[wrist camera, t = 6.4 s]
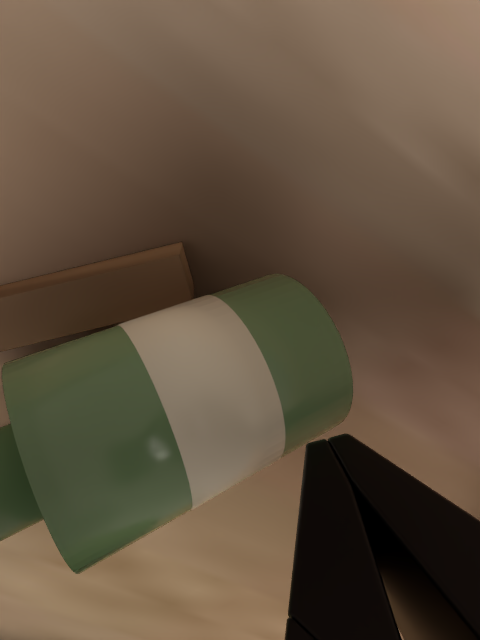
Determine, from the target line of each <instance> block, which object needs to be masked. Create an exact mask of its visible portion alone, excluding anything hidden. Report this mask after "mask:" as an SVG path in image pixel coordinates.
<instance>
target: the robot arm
mask: <svg viewBox="0 0 480 640" xmlns="http://www.w3.org/2000/svg"><path fill="white" fill-rule="evenodd" d="M288 616H289V618H288V619H287V624H286V633H285V640H402V639H401V636H400V633H399V630H400V632H401V634H402V636H403V638H404V640H480V521H479V520H478V519H476V518H475V517H473V516H472V515H470V514H469V513H467V512H466V511H464V510H463V509H461V508H459V507H458V506H456V505H455V504H453V503H452V502H450V501H449V500H447V499H446V498H444V497H443V496H441V495H440V494H438V493H437V492H435V491H434V490H432V489H431V488H429V487H428V486H426V485H425V484H423V483H422V482H420V481H419V480H417V479H416V478H414V477H413V476H411V475H410V474H408V473H407V472H405V471H404V470H402V469H401V468H399V467H398V466H396V465H395V464H393V463H392V462H390V461H389V460H387V459H386V458H384V457H383V456H381V455H380V454H378V453H377V452H375V451H374V450H372V449H371V448H369V447H368V446H366V445H365V444H363V443H362V442H360V441H359V440H357V439H356V438H354V437H353V436H351V435H349V434H342V435H338V436H334V437H331V438H329V439H328V441H327V440H325V439H323V440H319V441H315V442H311V443H308V444H307V445H306V451H305V460H304V469H303V479H302V488H301V497H300V506H299V516H298V525H297V534H296V544H295V553H294V562H293V571H292V581H291V590H290V599H289V609H288ZM397 626H398V627H397ZM398 628H399V630H398Z"/></svg>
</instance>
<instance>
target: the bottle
mask: <svg viewBox="0 0 480 640" xmlns="http://www.w3.org/2000/svg"><path fill="white" fill-rule="evenodd" d="M2 383H3V390H4V396H5V401H6V406H7V410H8V414H9V419H10V423H11V424H8V425H5V426H3V427H0V541H2V540H4V539H6V538H8V537H10V536H12V535H14V534H16V533H18V532H20V531H22V530H24V529H26V528H28V527H30V526H32V525H34V524H36V523H38V522H40V521H42V520H44V521H45V523H46V525H47V527H48V529H49V532H50V534H51V536H52V538H53V540H54V542H55V544H56V546H57V548H58V550H59V552H60V553H61V555H62V557H63V558H64V560H65V562H66V563H67V564H68V566H69V567H70V568H71V570H72V571H73V572H75V573H76V574H80V573H82V572H83V571H85V570H87V569H89V568H90V567H92V566H94V565H96V564H97V563H99V562H101V561H103V560H104V559H106V558H108V557H110V556H111V555H113V554H115V553H117V552H118V551H120V550H122V549H123V548H125V547H127V546H129V545H130V544H132V543H134V542H136V541H137V540H139V539H141V538H143V537H144V536H146V535H148V534H150V533H151V532H153V531H155V530H157V529H158V528H160V527H162V526H163V525H165V524H167V523H169V522H170V521H172V520H174V519H176V518H177V517H179V516H181V515H183V514H184V513H186V512H188V511H191V510H193V509H195V508H197V507H198V506H200V505H202V504H204V503H205V502H207V501H209V500H210V499H212V498H214V497H216V496H217V495H219V494H221V493H223V492H224V491H226V490H228V489H230V488H231V487H233V486H235V485H237V484H238V483H240V482H242V481H243V480H245V479H247V478H249V477H250V476H252V475H254V474H256V473H257V472H259V471H261V470H263V469H264V468H266V467H268V466H269V465H271V464H273V463H275V462H276V461H278V460H279V459H280V458H282V457H283V456H285V455H287V454H289V453H290V452H292V451H294V450H296V449H297V448H299V447H301V446H303V445H304V444H306V443H308V442H310V441H311V440H313V439H315V438H316V437H318V436H320V435H322V434H323V433H325V432H327V431H329V430H330V429H332V428H334V427H336V426H337V425H339V424H340V423H341V422H343V421H344V419H345V418H346V417H347V415H348V413H349V411H350V408H351V404H352V397H353V380H352V373H351V368H350V363H349V359H348V356H347V353H346V349H345V346H344V344H343V341H342V339H341V337H340V334H339V332H338V330H337V328H336V326H335V324H334V323H333V321H332V319H331V318H330V316H329V314H328V313H327V311H326V310H325V308H324V307H323V306H322V304H321V303H320V302H319V301H318V299H317V298H316V297H315V296H314V295H313V294H312V293H311V292H310V291H309V290H308V289H307V288H306V287H305V286H303V285H302V284H301V283H299V282H298V281H296V280H294V279H293V278H291V277H288V276H286V275H282V274H270V275H267V276H264V277H261V278H258V279H255V280H252V281H249V282H246V283H243V284H240V285H237V286H234V287H231V288H228V289H225V290H222V291H219V292H216V293H213V294H210V295H205V296H202V297H199V298H196V299H193V300H190V301H187V302H184V303H181V304H178V305H175V306H172V307H169V308H166V309H163V310H160V311H157V312H154V313H151V314H148V315H145V316H142V317H139V318H136V319H133V320H130V321H127V322H124V323H121V324H118V325H116V326H114V327H111V328H108V329H105V330H102V331H99V332H96V333H93V334H90V335H87V336H84V337H81V338H78V339H75V340H72V341H69V342H66V343H63V344H60V345H57V346H54V347H51V348H48V349H45V350H42V351H39V352H36V353H33V354H30V355H27V356H24V357H21V358H18V359H15V360H12V361H9V362H6V363H4V365H3V367H2Z"/></svg>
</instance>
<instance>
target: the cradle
mask: <svg viewBox="0 0 480 640" xmlns="http://www.w3.org/2000/svg"><path fill="white" fill-rule="evenodd" d="M193 299H194V284H193V280H192V276H191V273H190V269H189V266H188V262H187V258H186V255H185V251H184V248H183V244H182V242H179V243H175V244H171V245H167V246H162V247H158V248H154V249H150V250H146V251H142V252H138V253H134V254H129V255H125V256H121V257H117V258H113V259H109V260H105V261H100V262H96V263H92V264H88V265H84V266H80V267H76V268H71V269H67V270H63V271H59V272H55V273H51V274H47V275H42V276H38V277H34V278H30V279H26V280H22V281H18V282H14V283H9V284H5V285H1V286H0V352H2V351H6V350H10V349H14V348H18V347H22V346H26V345H30V344H35V343H39V342H43V341H47V340H51V339H55V338H59V337H63V336H67V335H71V334H75V333H80V332H84V331H88V330H92V329H96V328H100V327H104V326H108V325H112V324H116V323H120V322H125V321H129V320H133V319H136V318H139V317H142V316H145V315H148V314H151V313H154V312H157V311H160V310H163V309H166V308H169V307H172V306H175V305H178V304H181V303H184V302H187V301H190V300H193Z"/></svg>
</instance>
